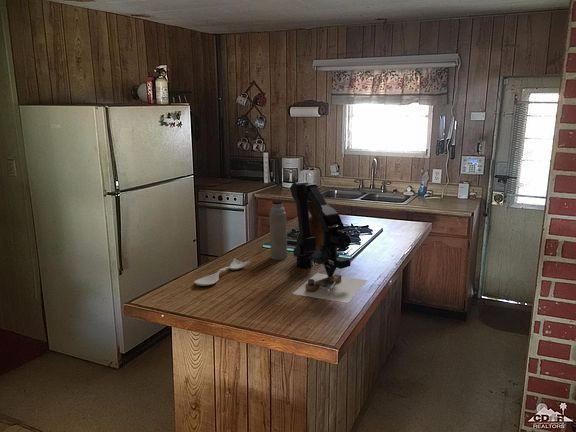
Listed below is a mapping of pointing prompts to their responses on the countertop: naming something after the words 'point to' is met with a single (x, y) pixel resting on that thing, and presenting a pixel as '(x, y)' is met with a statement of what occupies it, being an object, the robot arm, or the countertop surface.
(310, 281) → the pintle pin
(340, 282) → the base board
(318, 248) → the ceramic vessel
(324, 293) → the block
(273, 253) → the thermos bottle
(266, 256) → the countertop surface
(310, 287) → the link
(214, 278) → the spoon
